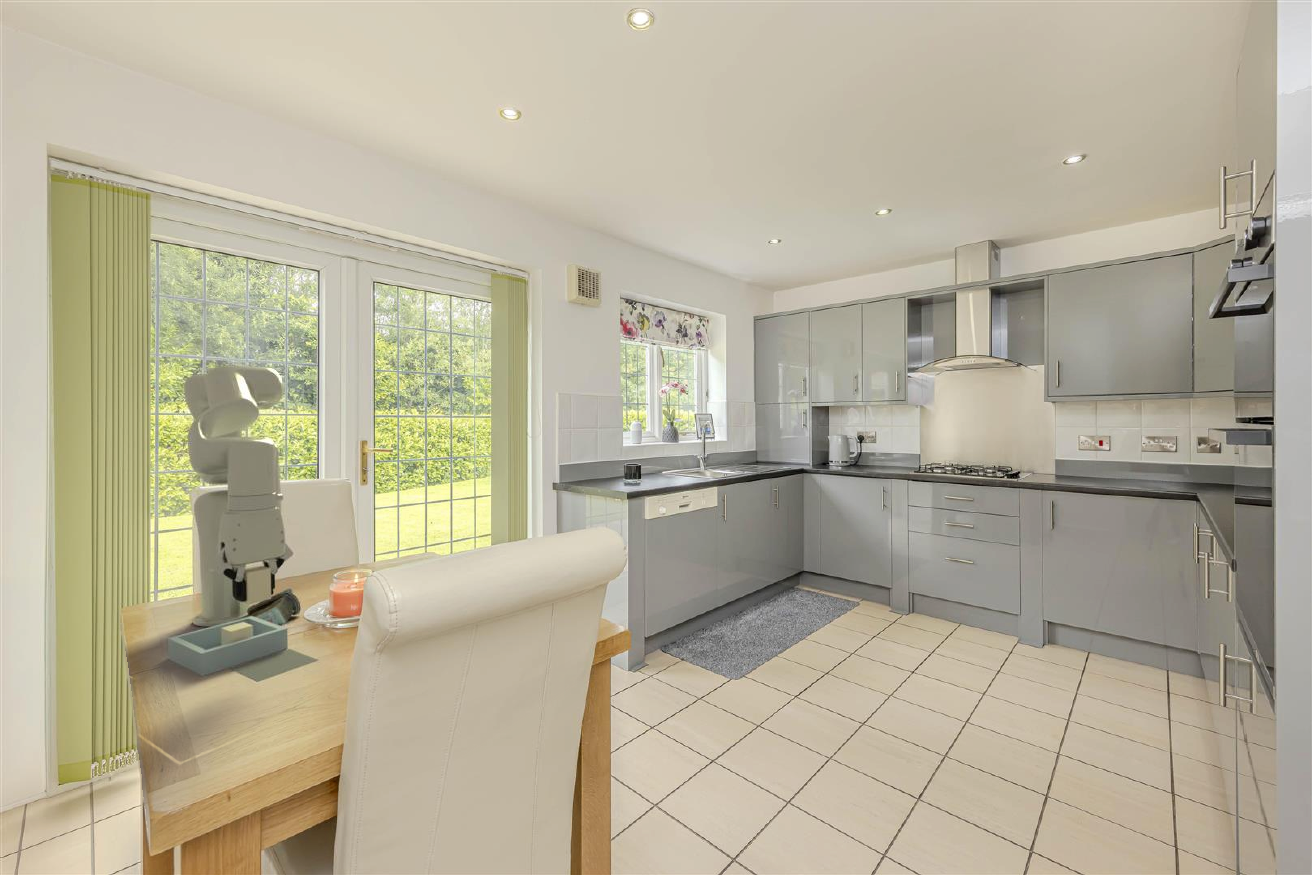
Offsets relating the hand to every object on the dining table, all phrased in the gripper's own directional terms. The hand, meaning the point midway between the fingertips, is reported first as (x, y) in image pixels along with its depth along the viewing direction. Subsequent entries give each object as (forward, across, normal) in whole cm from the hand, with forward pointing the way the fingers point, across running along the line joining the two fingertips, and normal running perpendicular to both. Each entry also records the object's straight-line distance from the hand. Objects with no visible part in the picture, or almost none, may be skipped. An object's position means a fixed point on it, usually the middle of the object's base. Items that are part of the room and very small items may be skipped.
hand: (254, 596), depth 109 cm
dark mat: (+15, -3, 0) cm, 15 cm away
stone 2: (+1, 0, 0) cm, 1 cm away
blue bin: (+15, -1, -14) cm, 20 cm away
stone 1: (+14, -1, -10) cm, 18 cm away
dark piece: (+15, -15, -27) cm, 34 cm away
